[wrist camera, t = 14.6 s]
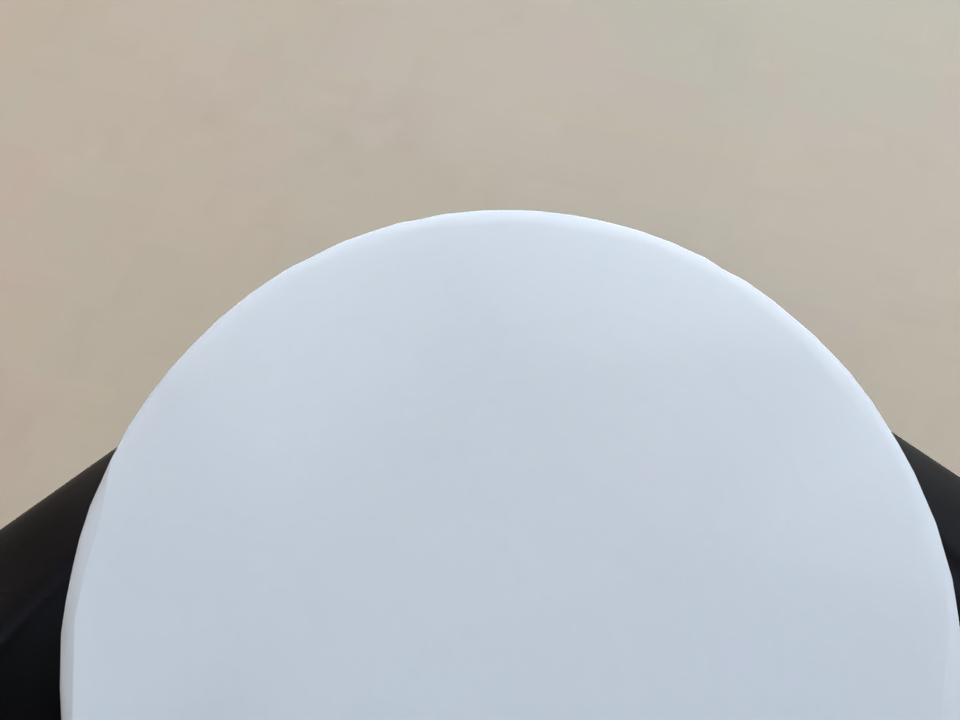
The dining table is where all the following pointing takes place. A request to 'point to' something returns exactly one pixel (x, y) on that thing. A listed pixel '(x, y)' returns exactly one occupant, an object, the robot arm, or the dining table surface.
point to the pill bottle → (509, 502)
